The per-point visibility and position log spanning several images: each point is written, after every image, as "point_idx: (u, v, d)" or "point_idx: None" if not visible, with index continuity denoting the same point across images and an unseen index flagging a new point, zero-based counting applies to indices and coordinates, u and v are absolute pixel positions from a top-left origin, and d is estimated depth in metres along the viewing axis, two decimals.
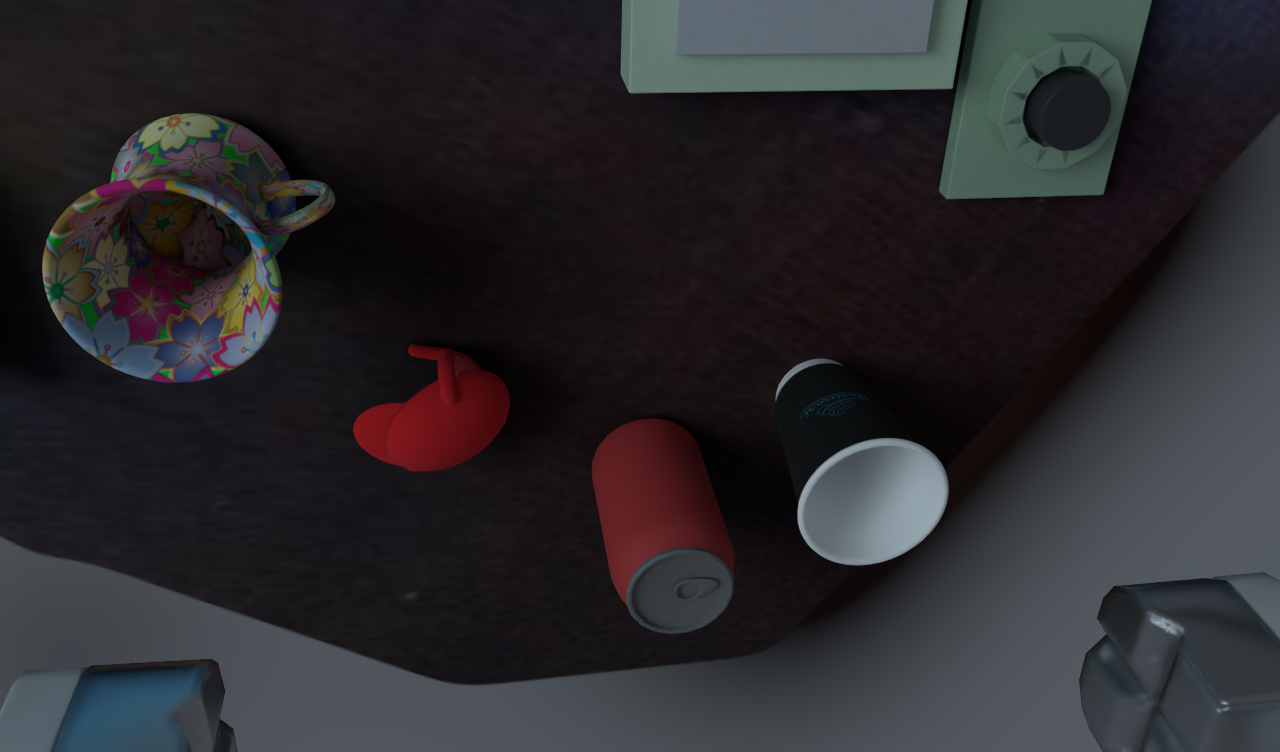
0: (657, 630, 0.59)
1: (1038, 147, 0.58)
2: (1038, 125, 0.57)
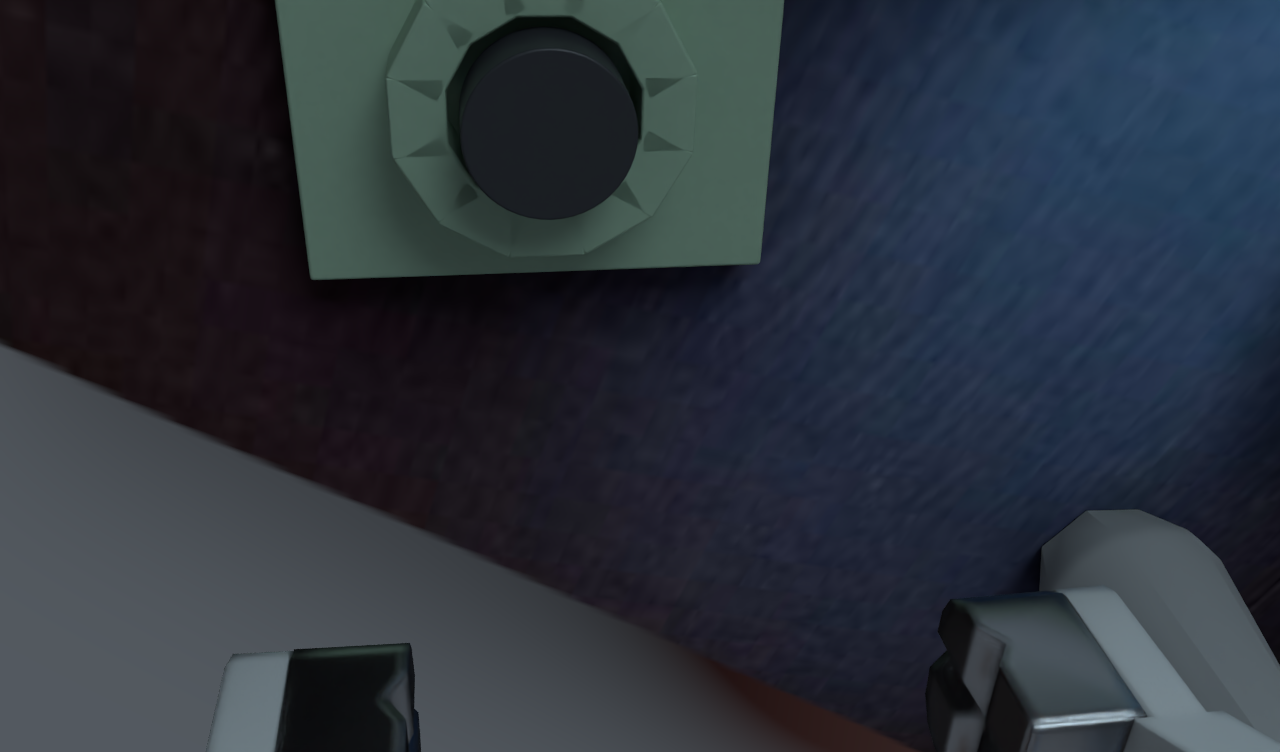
0: None
1: (446, 77, 0.23)
2: (521, 48, 0.22)
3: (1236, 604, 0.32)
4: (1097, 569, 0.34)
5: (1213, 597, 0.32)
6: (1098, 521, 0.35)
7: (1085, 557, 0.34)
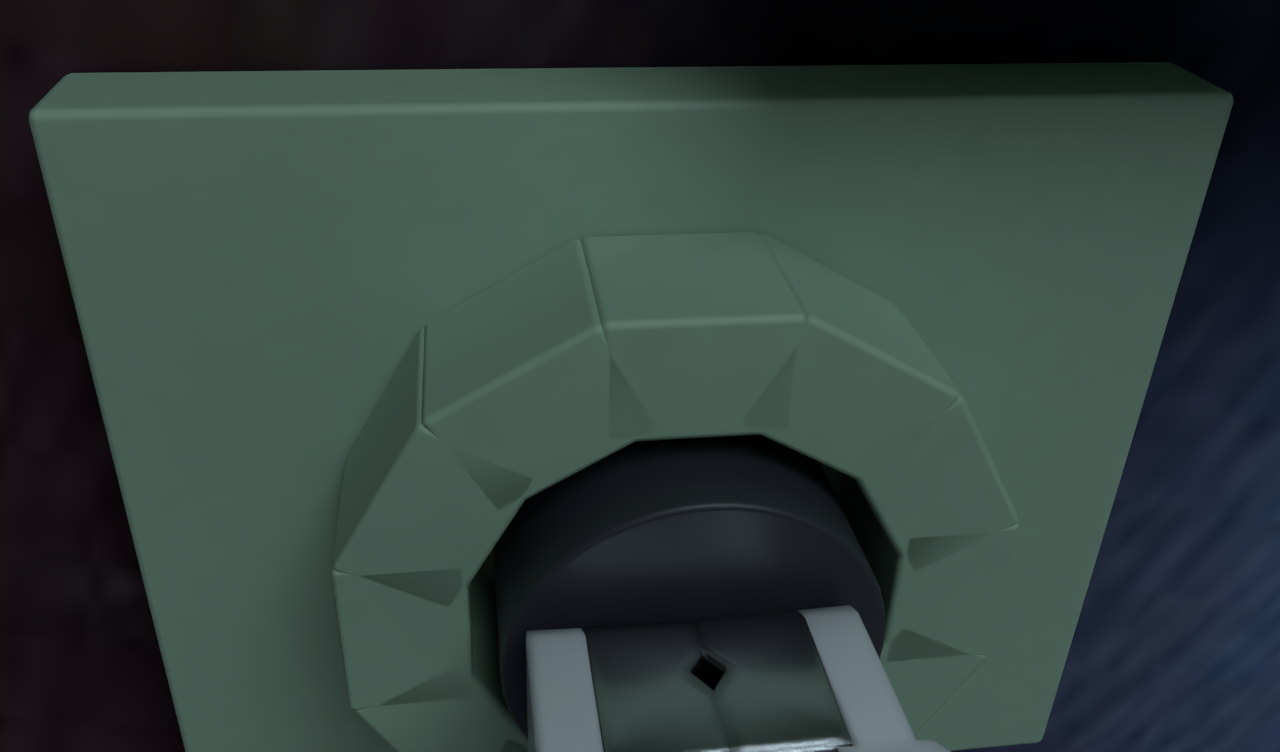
0: None
1: (469, 563, 0.10)
2: (642, 494, 0.10)
3: None
4: None
5: None
6: None
7: None
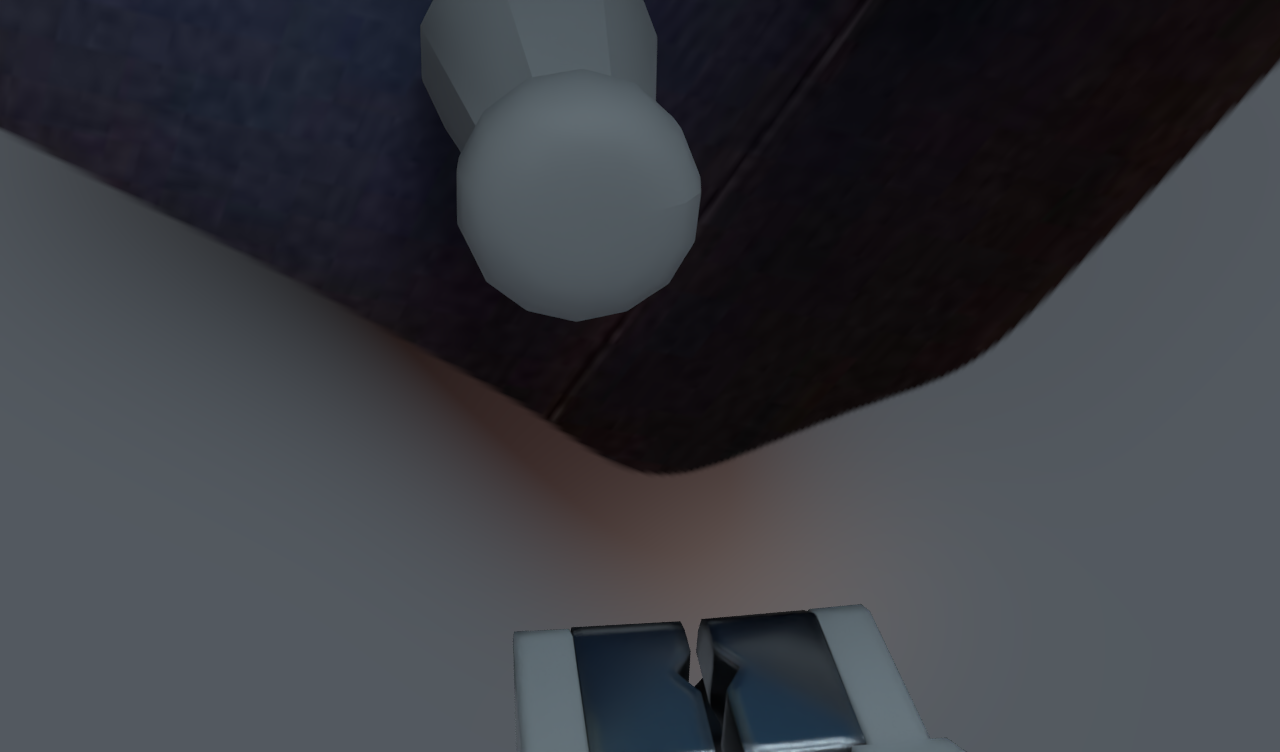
0: None
1: None
2: None
3: None
4: None
5: None
6: None
7: None
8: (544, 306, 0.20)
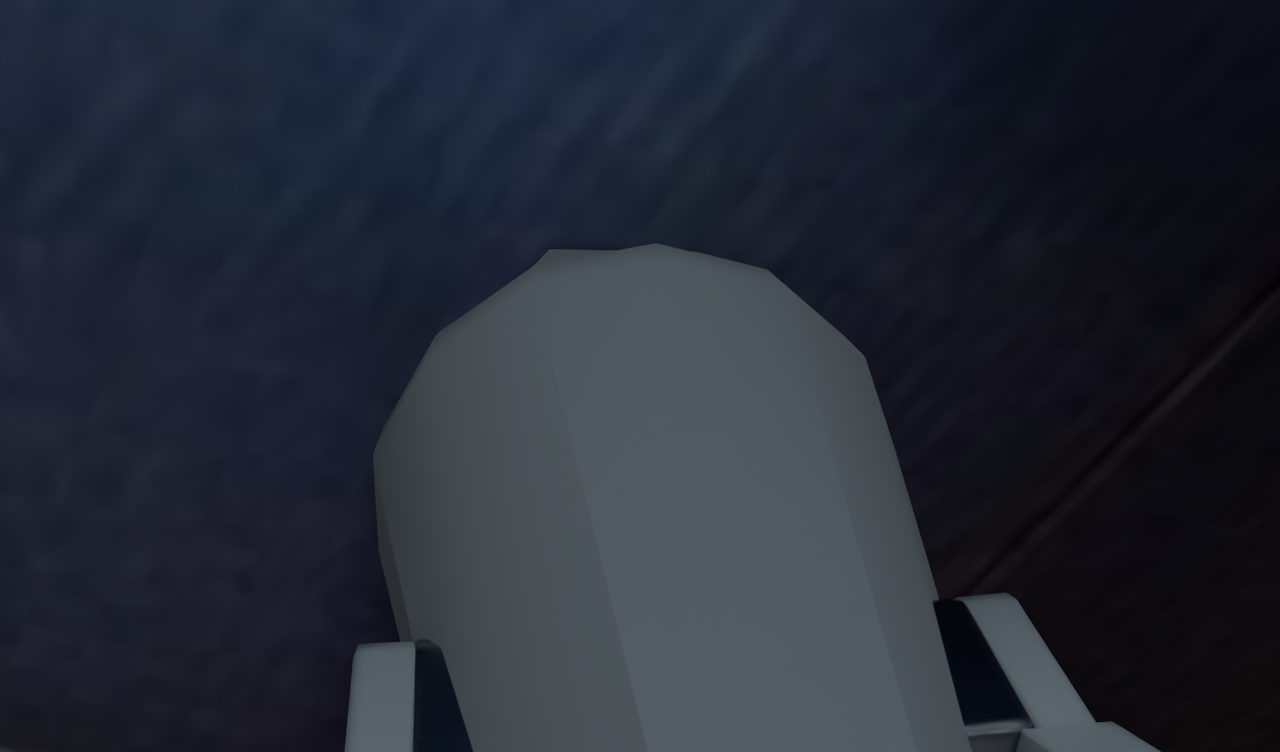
0: None
1: None
2: None
3: (824, 452, 0.10)
4: (455, 364, 0.11)
5: (749, 426, 0.10)
6: None
7: (445, 338, 0.12)
8: None
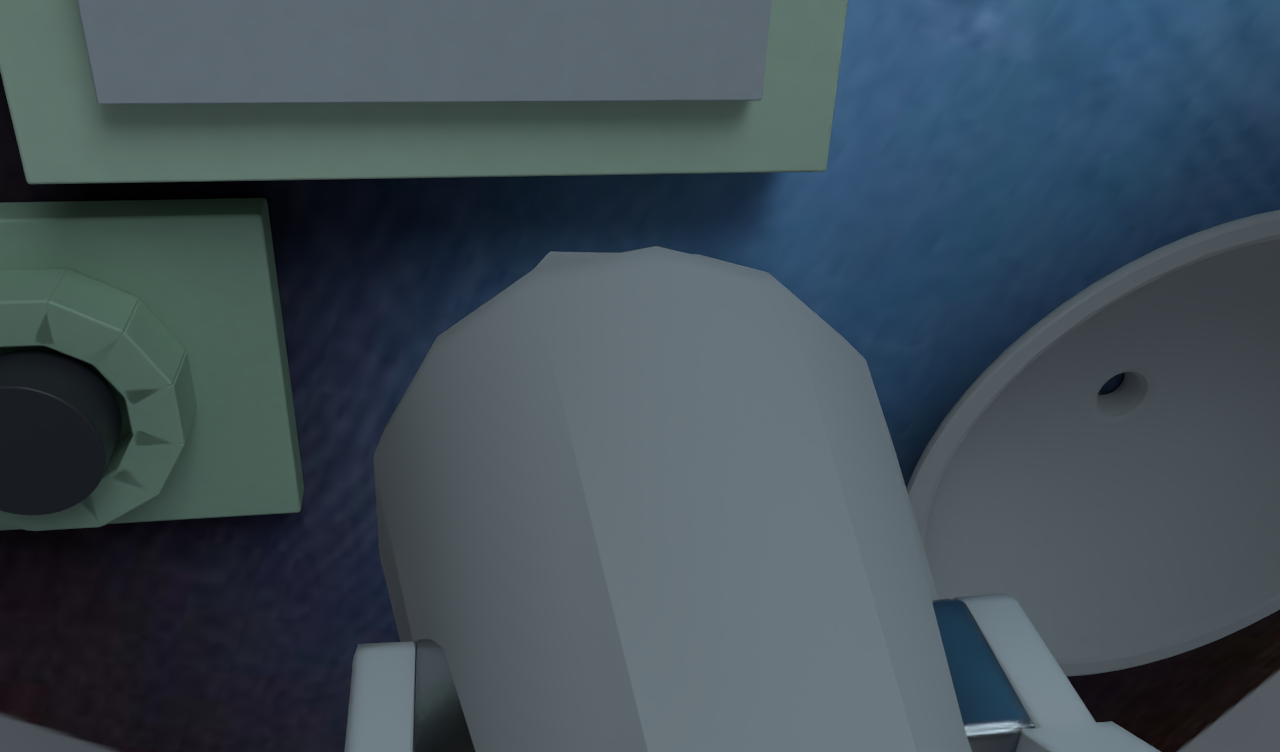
0: None
1: None
2: None
3: (825, 456, 0.10)
4: (456, 367, 0.11)
5: (749, 431, 0.10)
6: (541, 261, 0.13)
7: (447, 341, 0.12)
8: None
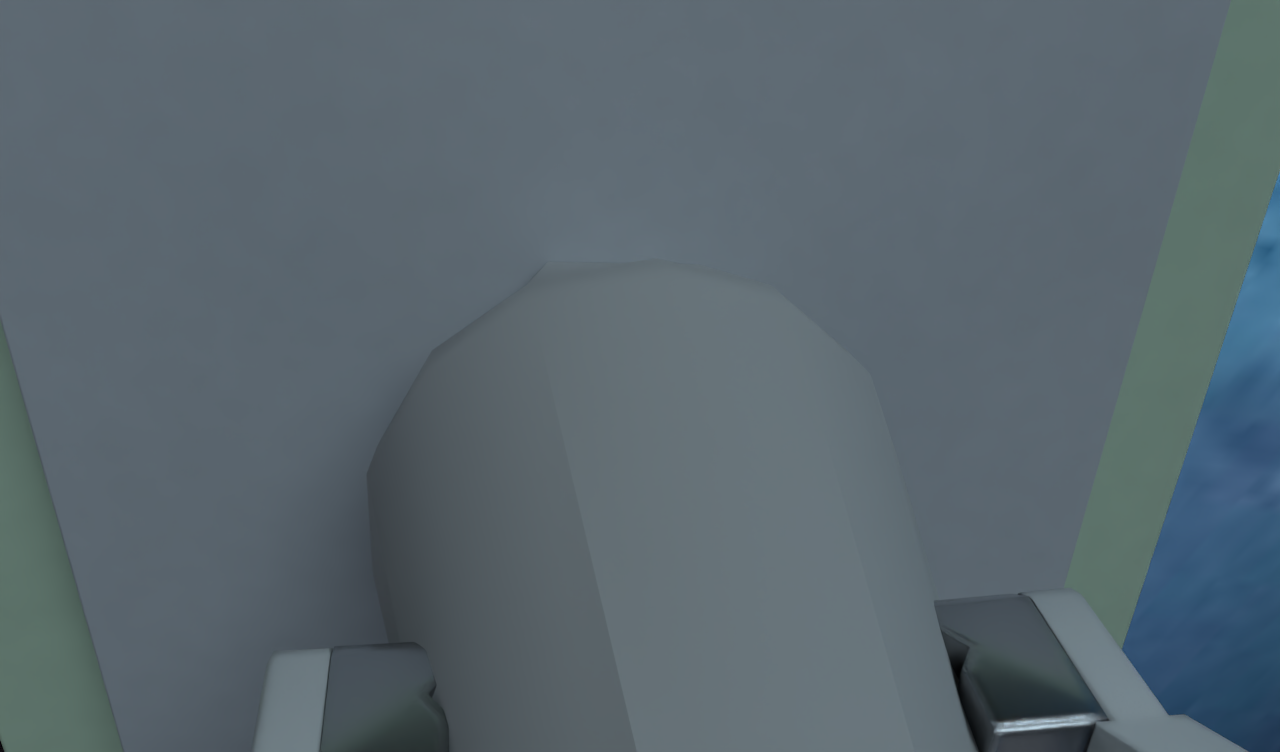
0: None
1: None
2: None
3: (830, 477, 0.09)
4: (450, 383, 0.11)
5: (752, 451, 0.09)
6: (538, 272, 0.12)
7: (441, 355, 0.11)
8: None
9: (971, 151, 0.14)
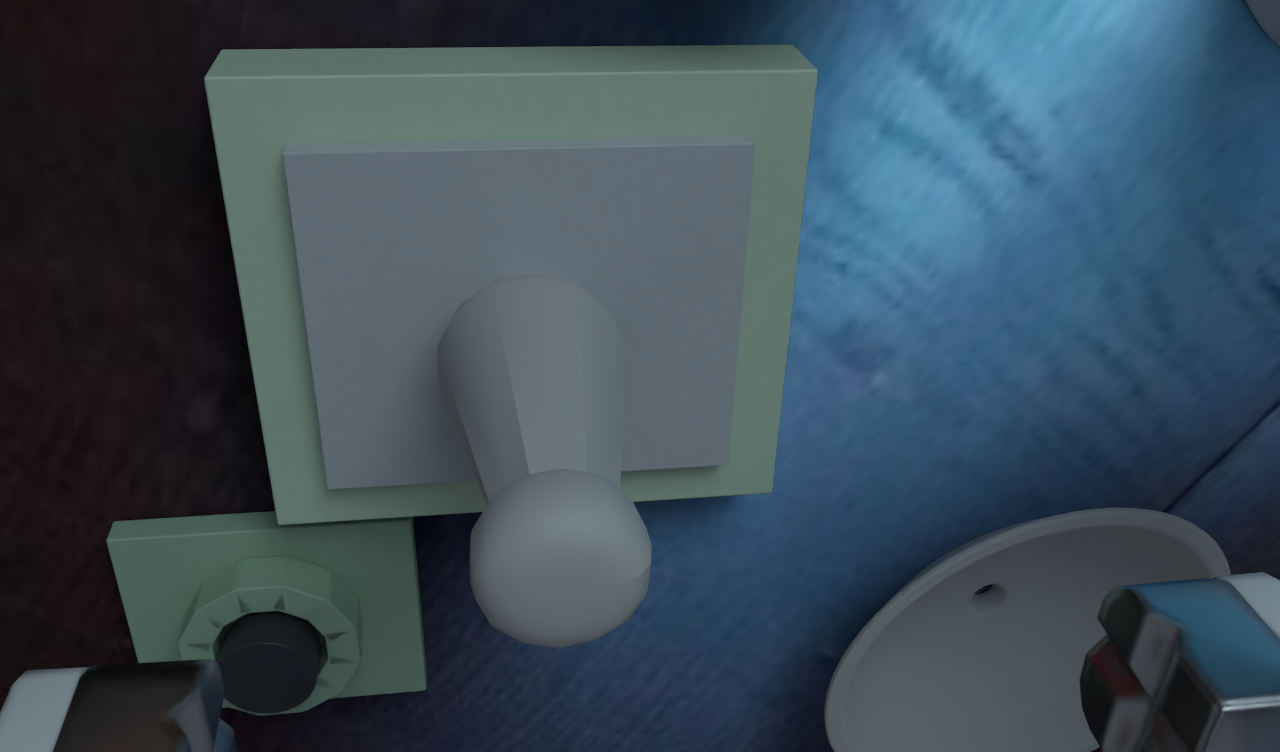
0: None
1: (211, 641, 0.43)
2: (245, 640, 0.42)
3: (579, 339, 0.32)
4: (466, 315, 0.33)
5: (555, 332, 0.32)
6: None
7: (463, 306, 0.34)
8: (535, 643, 0.27)
9: (660, 232, 0.36)
